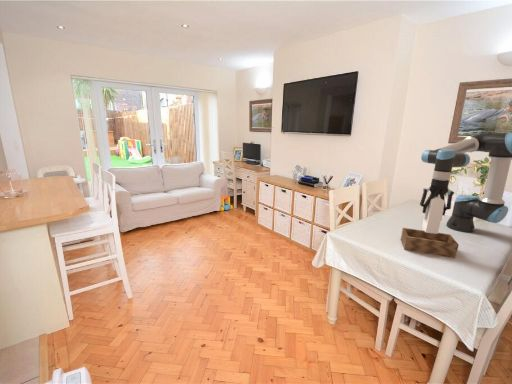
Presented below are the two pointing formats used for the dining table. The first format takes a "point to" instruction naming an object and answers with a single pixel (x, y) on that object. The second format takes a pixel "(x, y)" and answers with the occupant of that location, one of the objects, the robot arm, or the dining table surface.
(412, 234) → the crate
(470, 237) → the dining table surface
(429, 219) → the milk
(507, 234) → the dining table surface
